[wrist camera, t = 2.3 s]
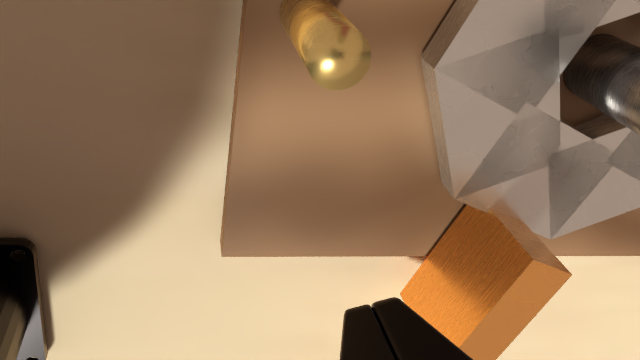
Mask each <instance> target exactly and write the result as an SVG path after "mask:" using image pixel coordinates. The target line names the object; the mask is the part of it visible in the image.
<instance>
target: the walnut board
mask: <svg viewBox="0 0 640 360" xmlns="http://www.w3.org/2000/svg"><path fill="white" fill-rule="evenodd" d="M329 1H330V2H331V3H332V4H333V5H334V6H335V7H336V8H337V9H338V10H339V11H340V12H341V13H342V14H343V15H344V16H345V17H346V18H347V19H348V20H349V21H350V22H351V23H352V24H353V25H354V26H355V27H356V28H357V29H358V30H359V31H360V32H361V33H362V34H363V35H364V36H365V38H366V39H367V41H368V43H369V45H370V49H371V63H370V66H369V69H368V71H367V73H366V74H365V76H364V77H363V78H362V79H361V80H360V81H359V82H358V83H357V84H355V85H354V86H352V87H350V88H347V89H344V90H329V89H325V88H323V87H321V86H320V85H318V84H317V83H316V82H315V81H314V80H313V78H312V77H311V75H310V73H309V72H308V70H307V68H306V66H305V65H304V63H303V61H302V59H301V58H300V56H299V54H298V52H297V51H296V49H295V47H294V45H293V43H292V42H291V40H290V38H289V36H288V35H287V33H286V31H285V29H284V28H283V26H282V24H281V21H280V17H279V10H280V5H281V2H282V0H243V7H242V18H241V28H240V39H239V49H238V60H237V70H236V81H235V91H234V102H233V112H232V123H231V134H230V144H229V155H228V165H227V176H226V186H225V197H224V207H223V218H222V228H221V239H220V243H221V254H222V257H295V256H429V254H430V253H431V252H432V250H433V249H434V248H435V246H436V245H437V244H438V242H439V241H440V240H441V238H442V237H443V236H444V234H445V233H446V232H447V230H448V229H449V228H450V226H451V225H452V224H453V222H454V221H455V220H456V218H457V217H458V216H459V214H460V213H461V212H462V210H463V209H464V208H465V206H466V205H467V204H465V203H462V202H460V201H457V200H455V199H454V198H453V197H452V196H451V194H450V193H449V192H448V190H447V189H446V188H445V187H444V185H443V184H442V182H441V176H440V170H439V164H438V158H437V152H436V146H435V140H434V134H433V128H432V122H431V116H430V110H429V104H428V98H427V92H426V86H425V80H424V74H423V68H422V62H421V56H422V54H423V52H424V51H425V49H426V48H427V46H428V44H429V43H430V41H431V40H432V38H433V36H434V35H435V33H436V32H437V30H438V29H439V27H440V25H441V24H442V22H443V21H444V19H445V17H446V16H447V14H448V13H449V11H450V10H451V8H452V6H453V5H454V3H455V2H456V0H329ZM602 33H604V34H610V35H612V36H615V37H617V38H619V39H622V40H624V41H626V42H629V43H631V44H633V45H636V46H638V47H640V15H639V14H638V13H636V14H633V15H630V16H627V17H625V18H622V19H619V20H616V21H613V22H610V23H607V24H604V25H601V26H599V27H596V28H595V29H594V30H593V32H592V33H591V34H590V36H593V35H596V34H602ZM590 36H589V37H590ZM602 115H605V113H603V112H601V111H600V110H598V109H597V108H595V107H593V106H592V105H590V104H589V103H587V102H585V101H584V100H582V99H581V98H579V97H577V96H576V95H574V94H573V93H571V92H570V91H568V89H567V88H566V86H565V84H564V81H563V72H562V73H561V74H560V119H562V120H564V121H566V122H567V123H569V124H571V125H573V126H574V125H577V124H579V123H582V122H585V121H588V120H591V119H594V118H596V117H599V116H602ZM533 233H534V232H533ZM534 234H535V235H536V236H537V237H538V238H539V239H540V240H541V241H542V242H543V244H544V245H545V246H546V247H547V248H548V249H549V250H550V251H551V252H552V253H553V254H554V256H640V208H637V209H634V210H631V211H629V212H626V213H623V214H620V215H618V216H615V217H612V218H609V219H606V220H604V221H601V222H598V223H595V224H593V225H590V226H587V227H584V228H582V229H579V230H576V231H573V232H571V233H568V234H565V235H562V236H559V237H557V238H554V239H551V240H550V239H548V238H545V237H543V236H541V235H538V234H536V233H534Z"/></svg>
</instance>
